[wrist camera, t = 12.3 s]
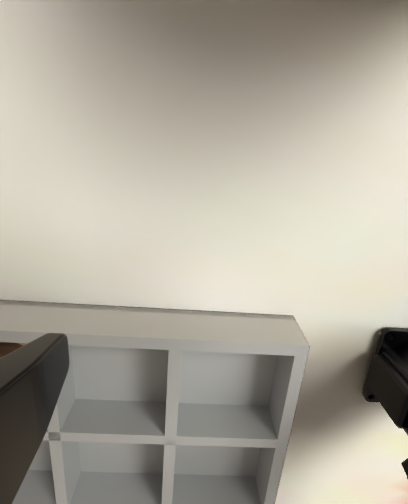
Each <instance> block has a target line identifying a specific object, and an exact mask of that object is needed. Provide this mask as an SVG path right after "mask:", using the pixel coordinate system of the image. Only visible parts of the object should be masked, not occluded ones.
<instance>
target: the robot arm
mask: <svg viewBox="0 0 408 504" xmlns="http://www.w3.org/2000/svg"><path fill="white" fill-rule="evenodd" d="M389 334H391V335H390V336H388V335H389ZM69 364H70V360H69V348H68V338H67V335H66V334H64V333H47V334H45V335H43V336H41V337H39V338H37V339H35V340H33V341H31V342H30V343H28V344H26V345H24V346H22V347H20V348H18V349H17V350H15V351H13V352H11V353H9V354H7V355H5V356H3V357H2V358H0V504H12V503H13V501H14V499H15V497H16V494H17V492H18V490H19V488H20V486H21V484H22V482H23V480H24V478H25V476H26V474H27V472H28V470H29V467H30V465H31V463H32V461H33V459H34V457H35V455H36V453H37V451H38V449H39V447H40V445H41V442H42V440H43V438H44V436H45V434H46V431H47V428H48V426H49V423H50V421H51V418H52V415H53V412H54V409H55V407H56V404H57V401H58V398H59V396H60V393H61V390H62V387H63V384H64V382H65V379H66V376H67V373H68V370H69ZM363 396H364V398H365V400H366V401H368V402H380V403H381V405H382V406H383V408H384V409H385V411H386V412H387V413H388V415H389V416H390V418H391V419H392V420H393V422H394V423H395V425H396V426H397V427H398V428H403V429H404V431H405V432H406V433H407V435H408V329H404V328H386V329H384V330H383V331H382V332H381V335H380V338H379V341H378V345H377V348H376V351H375V354H374V357H373V360H372V363H371V366H370V370H369V373H368V376H367V379H366V384H365V387H364V390H363ZM402 466H403V468H404V470H405V473H406V475H407V479H408V458H407V459H406V460H405V461H403V462H402Z"/></svg>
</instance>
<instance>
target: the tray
mask: <svg viewBox="0 0 408 504" xmlns="http://www.w3.org/2000/svg"><path fill="white" fill-rule="evenodd" d="M47 333H64V334H66V335H67V338H68V348H69V360H70V364H69V370H68V373H67V376H66V379H65V382H64V384H63V387H62V390H61V393H60V396H59V398H58V401H57V404H56V407H55V409H54V412H53V415H52V418H51V421H50V423H49V426H48V428H47V431H46V434H45V436H44V438H43V440H42V442H41V445H40V447H39V449H38V451H37V453H36V455H35V457H34V459H33V461H32V463H31V465H30V467H29V470H28V472H27V474H26V476H25V478H24V480H23V482H22V484H21V486H20V488H19V490H18V492H17V494H16V497H15V499H14V501H13V503H12V504H275V499H276V495H277V490H278V486H279V482H280V477H281V473H282V468H283V464H284V459H285V455H286V450H287V446H288V441H289V437H290V432H291V428H292V424H293V419H294V415H295V410H296V406H297V401H298V397H299V392H300V388H301V383H302V379H303V374H304V370H305V365H306V361H307V357H308V352H309V348H310V345H309V343H308V341H307V340H306V338H305V336H304V334H303V332H302V331H301V329H300V327H299V325H298V323H297V322H296V320H295V318H294V316H290V315H271V314H253V313H234V312H215V311H197V310H178V309H160V308H141V307H123V306H104V305H85V304H67V303H48V302H30V301H11V300H0V342H10V343H30V342H31V341H33V340H35V339H37V338H39V337H41V336H43V335H45V334H47Z"/></svg>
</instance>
